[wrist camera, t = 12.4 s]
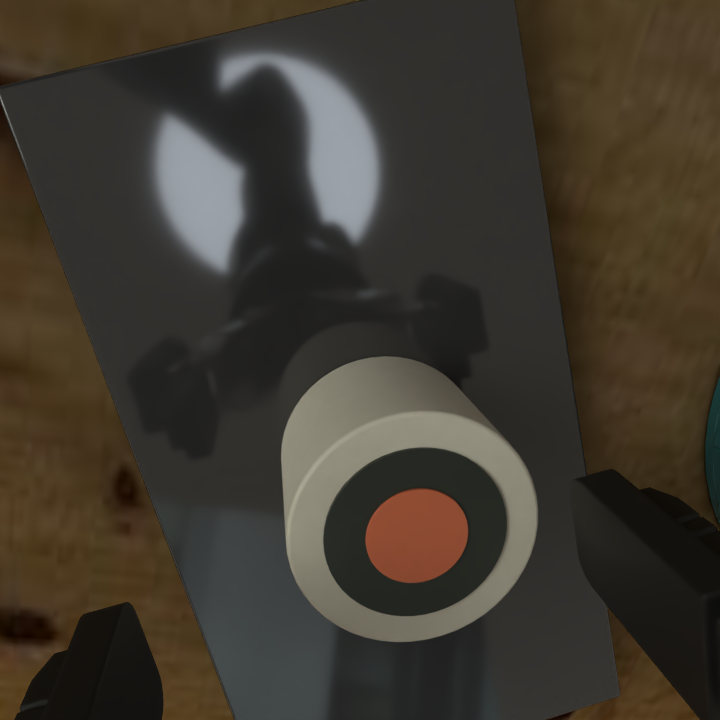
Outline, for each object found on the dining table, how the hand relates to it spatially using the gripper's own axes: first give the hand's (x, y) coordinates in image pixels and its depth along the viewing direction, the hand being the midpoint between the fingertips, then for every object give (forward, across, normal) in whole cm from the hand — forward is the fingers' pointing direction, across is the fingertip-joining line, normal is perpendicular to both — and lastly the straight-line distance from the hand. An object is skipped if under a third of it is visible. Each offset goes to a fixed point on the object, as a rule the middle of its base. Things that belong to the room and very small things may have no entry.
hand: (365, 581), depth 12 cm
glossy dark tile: (+6, -1, 0) cm, 6 cm away
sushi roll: (+5, -1, 0) cm, 5 cm away
